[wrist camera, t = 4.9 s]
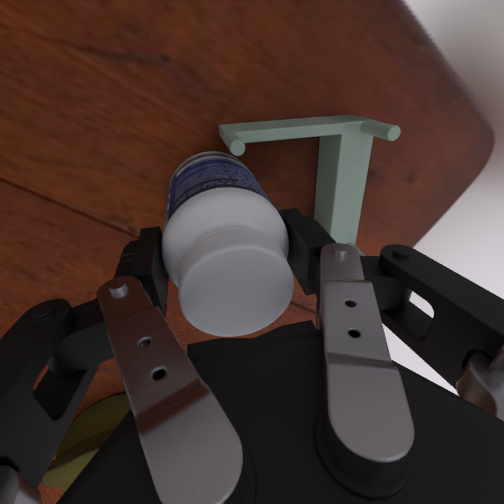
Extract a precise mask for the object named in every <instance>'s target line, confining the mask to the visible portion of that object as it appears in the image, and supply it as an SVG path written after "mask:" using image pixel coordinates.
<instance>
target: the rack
mask: <svg viewBox="0 0 504 504" xmlns="http://www.w3.org/2000/svg"><path fill="white" fill-rule="evenodd" d="M218 127H219V135H220V136H221V138H222V140H223V141H224V143H225V145H227V147H228V148H229V150H230V152H231V153H232V154H233V155H234V156H240V155H242V154H243V153H244V151H245V144H244V143H252V142H263V141H274V140H285V139H296V138H307V137H317V136H320V141H319V154H318V168H317V181H316V194H315V208H314V220H316V221H317V222H318V223H319V224H320V225H321V226H322V227H323V228H324V229H325V230H326V231H327V232H328V234H329V235H330V236H331V237H332V238H333V239H334V240H335V241H336V242H337V243H343V244H348V245H350V246H352V247H354V248H355V249H357V251H358V252H359V255H360V256H365V255H364V254H363V253H362V252H361V251H360V250H359V249H358V248H357V247H356V246H355V242H356V236H357V230H358V224H359V218H360V213H361V207H362V201H363V195H364V189H365V183H366V177H367V171H368V165H369V160H370V154H371V148H372V142H373V136H376V137H379V138H383V139H386V140H389V141H394V140H396V139H397V138H398V137H399V135H400V128H399V127H398V126H396V125H391V124H387V123H382V122H378V121H376V120H373V119H369V118H364V117H360V116H355V115H351V114H347V115H334V116H322V117H310V118H297V119H285V120H273V121H260V122H248V123H236V124H223V125H219V126H218Z"/></svg>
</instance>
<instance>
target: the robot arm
mask: <svg viewBox="0 0 504 504" xmlns="http://www.w3.org/2000/svg"><path fill="white" fill-rule="evenodd" d="M279 215H280V216H281V218H282V220H283V222H284V224H285V226H286V229H287V232H288V237H289V252H288V257H287V262H288V264H289V266H290V268H291V269H292V271H293V273H294V275H295V277H296V278H297V280H298V282H299V284H300V286H301V287H302V289H303V291H304V293H305V295H312V294H316V296H317V299H316V328H315V326H314V324H313V322H312V320H309V321H304V322H299V323H294V324H289V325H284V326H281V327H278V328H276V329H274V330H272V331H269V332H267V333H265V334H262V335H260V336H258V337H255V338H250V339H248V338H218V339H213V340H208V341H203V342H198V343H193V344H187V345H188V355H187V354H186V352H185V351H184V349H183V347H182V346H181V344H180V342H179V341H178V339H177V337H176V336H175V334H174V332H173V331H172V329H171V327H170V326H169V324H168V322H167V320H166V309H167V295H168V280H169V275H168V273H167V271H166V269H165V266H164V263H163V258H162V233H161V229H160V227H159V226H158V227H151V228H143V229H141V232H140V236H139V240H136V241H131V242H130V243H129V244H128V245H126V246H125V247H124V249H123V252H122V255H121V256H122V257H121V258H120V262H119V264H118V267H117V270H116V273H115V276H114V278H113V279H112V280H109V281H108V282H106V283H104V284H103V285H102V286H101V287H100V288H99V289H98V291H97V298H96V299H94V300H92V301H89V302H87V303H84V304H81V305H78V306H76V307H73V308H72V307H71V306H70V304H69V302H68V301H66V300H64V299H53V300H48V301H45V302H42V303H40V304H38V305H36V306H34V307H32V308H31V309H29V310H28V311H27V312H25V313H24V314H23V315H22V316H21V317H20V318H19V320H18V321H17V322H16V323H15V324H14V325H13V326H12V327H11V328H10V329H9V330H8V332H7V333H6V334H5V335H4V336H3V337H2V338H1V339H0V504H41V495H40V492H39V491H38V487H39V485H40V483H41V481H42V479H43V477H44V475H45V473H46V471H47V469H48V467H49V465H50V463H51V461H52V459H53V457H54V455H55V453H56V451H57V449H58V447H59V445H60V443H61V441H62V439H63V437H64V435H65V433H66V431H67V429H68V427H69V425H70V423H71V421H72V419H73V417H74V415H75V413H76V411H77V409H78V407H79V405H80V403H81V401H82V399H83V397H84V395H85V393H86V391H87V389H88V387H89V385H90V383H91V381H92V379H93V377H94V375H95V374H96V372H97V370H98V367H99V364H100V363H102V362H104V361H106V360H108V359H111V358H113V357H115V359H116V363H117V366H118V369H119V372H120V375H121V378H122V381H123V384H124V387H125V390H126V393H127V396H128V399H129V402H130V405H131V409H130V410H129V412H128V413H127V414H126V415H125V417H124V418H123V419H122V421H121V422H120V423H119V424H118V426H117V427H116V428H115V429H114V431H113V432H112V433H111V434H110V436H109V437H108V438H107V440H106V441H105V442H104V443H103V445H102V446H101V447H100V448H99V450H98V451H97V452H96V453H95V455H94V456H93V457H92V459H91V460H90V461H89V462H88V464H87V465H86V466H85V467H84V469H83V470H82V471H81V473H80V474H79V475H78V476H77V478H76V479H75V480H74V481H73V483H72V484H71V485H70V486H69V488H68V489H67V490H66V492H65V493H64V494H63V495H62V497H61V498H60V499H59V500H58V502H57V503H56V504H504V299H502V298H500V297H498V296H496V295H495V294H493V293H491V292H489V291H488V290H486V289H484V288H482V287H480V286H479V285H477V284H475V283H474V282H472V281H470V280H468V279H466V278H464V277H463V276H461V275H459V274H458V273H456V272H454V271H452V270H450V269H449V268H447V267H445V266H443V265H442V264H440V263H438V262H436V261H434V260H433V259H431V258H429V257H427V256H426V255H424V254H422V253H420V252H418V251H417V250H415V249H413V248H411V247H408V246H404V245H387V246H385V247H383V248H382V250H381V253H380V256H360V255H359V252H358V251H357V249H355V248H354V247H352V246H350V245H348V244H343V243H337V242H336V241H335V240H334V239H333V238H332V237H331V236H330V235H329V234H328V232H327V231H326V230H325V229H324V228H323V227H322V226H321V225H320V224H319V223H318V222H317V221H316V220H314V219H312V218H310V217H304V216H303V215H302V214H301V213H300V212H299V210H298V209H297V208H292V209H285V210H280V213H279ZM412 291H414V292H415V293H416V294H417V295H419V296H420V297H422V298H423V299H425V300H426V301H427V302H428V303H429V304H430V305H431V306H432V308H433V310H434V317H433V318H431V317H430V316H429V315H427V314H426V313H425V312H423V311H422V310H421V309H419V308H418V307H417V306H415V305H414V304H413V303H411V302H410V301H409V299H410V296H411V293H412ZM382 323H383V324H384V325H385V326H386V327H388V328H389V329H390V330H391V331H392V332H393V333H394V334H395V335H396V336H397V337H399V338H400V339H401V340H402V341H403V342H404V343H405V344H406V345H408V347H410V348H411V349H412V350H413V351H414V352H415V353H416V354H417V355H418V356H419V357H421V358H422V359H423V360H424V361H425V362H426V363H427V364H428V365H430V367H432V368H433V369H434V370H435V371H436V372H437V373H438V374H439V375H441V376H442V377H443V378H444V379H445V380H446V381H447V382H448V383H449V384H450V385H451V386H453V387H454V388H455V389H456V390H457V393H458V395H459V396H458V395H456V394H454V393H452V392H450V391H448V390H447V389H445V388H443V387H441V386H439V385H437V384H435V383H434V382H432V381H430V380H428V379H426V378H424V377H422V376H421V375H419V374H417V373H415V372H413V371H411V370H409V369H408V368H406V367H404V366H402V365H400V364H398V363H396V362H395V361H393V360H391V358H390V354H389V350H388V346H387V342H386V338H385V333H384V330H383V326H382ZM46 365H47V366H48V368H49V369H48V371H47V372H46V374H45V375H44V377H43V378H42V380H41V381H40V383H39V384H38V386H37V387H36V389H35V390H34V392H33V387H34V384H35V381H36V379H37V377H38V376H39V375H40V373H41V372H42V370H43V369H44V367H45V366H46Z"/></svg>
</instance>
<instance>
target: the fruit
mask: <svg viewBox="0 0 504 504" xmlns="http://www.w3.org/2000/svg"><path fill="white" fill-rule="evenodd" d="M130 409H131V405H130V402H129V399H128V396H127V393H125V394H120V395H115V396H112V397H108V398H106V399H104V400H101V401H99V402H98V403H96V404H94V405H92V406H90V407H89V408H88V409H86V410H85V411H84V412H82V413H81V414H80V415H79V417H78V418H77V419H76V420H75V421H74V422H73V423H72V425H71V426H70V427H69V429H68V430H67V432H66V433H65V435H64V437H63V439H62V441H61V443H60V445H59V448H58V450H57V453H56V459H55V460H54V461H52V463H51V464H50V465H49V467H48V469H47V471H46V473H45V475H44V477H43V479H42V481H41V482H42V483H43V484H44V485H46V486H47V487H48V488H52V487H59V488H60V489H62V490H63V491H64V492H66V490H67V489H68V488H69V486H70V485H71V484H72V483H73V481H74V480H75V479H76V478H77V476H78V475H79V474H80V473H81V471H82V470H83V469H84V467H85V466H86V465H87V464H88V462H89V461H90V460H91V459H92V457H93V456H94V455H95V453H96V452H97V451H98V450H99V448H100V447H101V446H102V445H103V443H104V442H105V441H106V440H107V438H108V437H109V436H110V434H111V433H112V432H113V431H114V429H115V428H116V427H117V426H118V424H119V423H120V422H121V421H122V419H123V418H124V417H125V415H126V414H127V413H128V412H129V410H130Z"/></svg>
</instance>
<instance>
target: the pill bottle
mask: <svg viewBox="0 0 504 504" xmlns="http://www.w3.org/2000/svg"><path fill="white" fill-rule="evenodd" d="M288 252H289V237H288V232H287V229H286V226H285V224H284V222H283V220H282V218H281V216H280V215H279V213H278V211H277V209H276V208H275V206H274V205H273V203H272V202H271V201H270V199H269V198H268V196H267V195H266V193H265V192H264V191H263V189H262V188H261V186H260V185H259V183H258V182H257V180H256V179H255V177H254V176H253V174H252V173H251V171H250V170H249V169H248V168H247V167H246V166H245V165H244V164H243V163H242V162H241V161H240V160H238V159H237V158H235V157H233V156H231V155H229V154H226V153H222V152H216V151H210V152H203V153H199V154H196V155H194V156H192V157H190V158H188V159H187V160H186V161H184V162H183V163H182V164H181V165H180V166H179V167H178V169H177V170H176V171H175V173H174V175H173V176H172V179H171V181H170V185H169V189H168V196H167V204H166V210H165V218H164V228H163V235H162V258H163V263H164V266H165V269H166V271H167V273H168V275H169V277H170V278H171V280H172V281H173V282H174V283H175V284H176V286H178V290H179V304H180V308H181V311H182V313H183V314H184V316H185V318H186V319H187V320H188V321H189V322H190V323H191V324H192V325H193V326H194V327H196V328H197V329H199V330H201V331H203V332H205V333H208V334H212V335H216V336H224V337H232V336H241V335H246V334H249V333H253V332H256V331H258V330H260V329H262V328H264V327H266V326H268V325H269V324H271V323H272V322H273V321H275V320H276V319H277V318H278V317H279V316H280V315H281V314H282V313H283V312H284V311H285V309H286V308H287V306H288V305H289V303H290V301H291V298H292V295H293V291H294V278H293V274H292V271H291V269H290V267H289V265H288V262H287V257H288Z"/></svg>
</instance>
